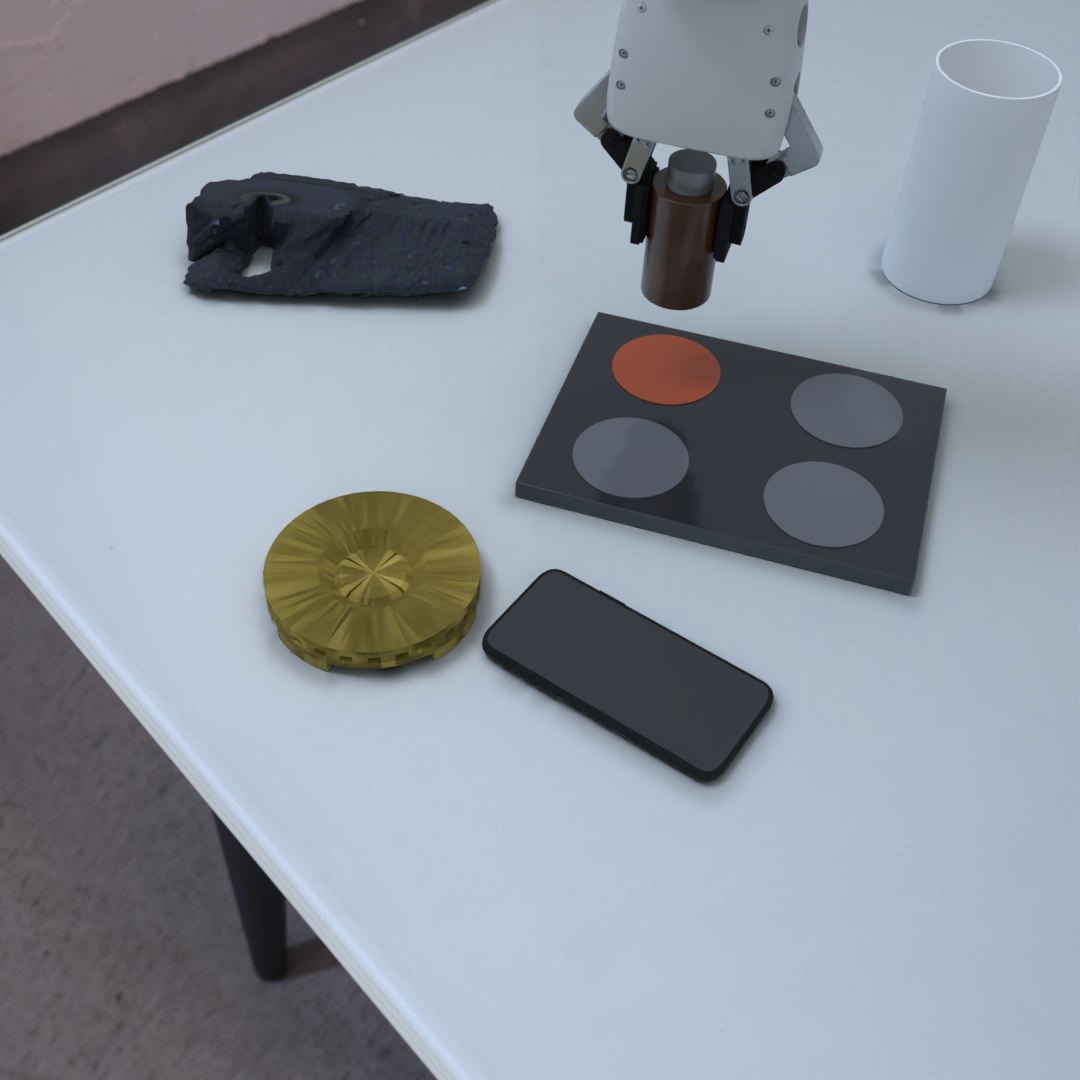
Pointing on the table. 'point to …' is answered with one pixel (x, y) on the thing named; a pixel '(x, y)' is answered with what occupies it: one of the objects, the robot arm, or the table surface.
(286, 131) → the table surface
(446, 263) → the dark slate chunk
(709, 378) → the hob
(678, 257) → the pepper mill
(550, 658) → the smartphone
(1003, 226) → the cup
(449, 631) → the gold round disc
